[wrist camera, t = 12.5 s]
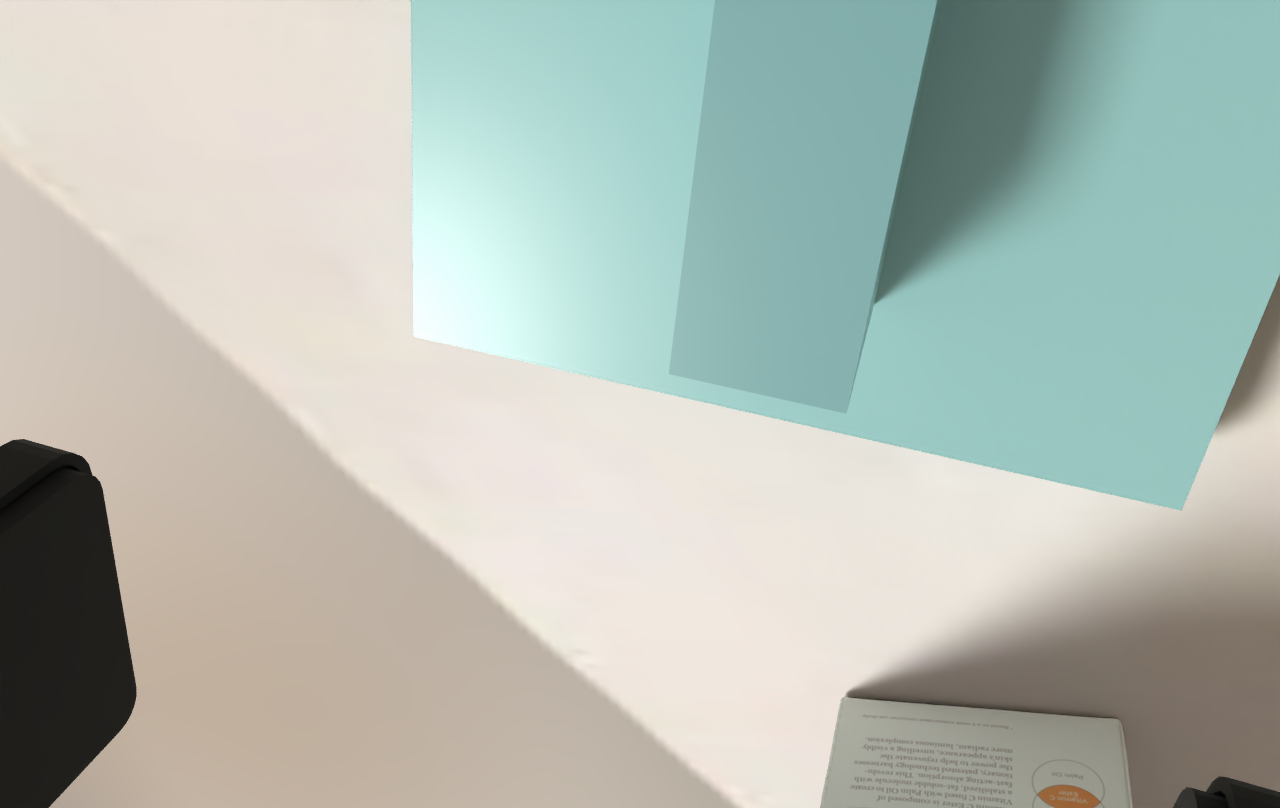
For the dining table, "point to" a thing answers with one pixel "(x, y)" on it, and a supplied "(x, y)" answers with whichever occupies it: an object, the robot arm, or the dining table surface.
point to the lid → (865, 213)
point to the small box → (973, 758)
